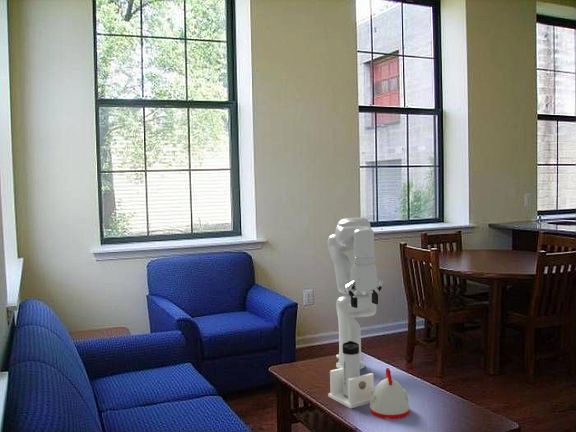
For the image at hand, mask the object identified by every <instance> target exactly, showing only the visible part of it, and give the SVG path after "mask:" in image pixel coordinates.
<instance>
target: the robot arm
mask: <svg viewBox="0 0 576 432" xmlns="http://www.w3.org/2000/svg"><path fill="white" fill-rule="evenodd" d="M371 227H372V226H371V222H370V221H369V219H368V218H367V217H345V218H342V219H340V220H339V221H338V223H337V224H336V227H335V232H334V234H331V235H329V236H328V238H327V249H328V253H329V256H330V258H331V260H332V262H333V265H334V271H335V280H336V286H337V290H338V292H339V293H341V294H346V295H342V296H339V297H338V298H337V299H336V300H335V301H336V302H335V306H336V307H335V308H336V313H337V314H336V315H337V320H338V345H339V346H338V348H339V349H338V351H339V352H338V354H336V356H335V357H336V358H337V359H338V362H336V364H335V367H336V369H339V368H343V353H342V352H343V347H342V345H343V344H344V343H346V342H348V341H353V342H356V343H358V344H359V361H360V371H361V370H363V369H364V368H365V367H366V364H365V362H364V361H362V341H361V340H362V337H361V334H362V331H361V325H360V324H359V322H358V321H357V320H356V319H355V318H362V317H363V318H364V317H365V318H366V317H372V316H374V315H376V314H377V305H378V304H379V294H380V291H382V287H383V284H384V281H383V280H382V279H379V278H378V271H377V266H376V263H375V261H376V260H377V258H376V256H375V242H374V241H375V240H374V239H375V233H374V230H373V228H371ZM345 252H353V260H352V259H351V258H350V257H349V255H347V254H346V253H345Z"/></svg>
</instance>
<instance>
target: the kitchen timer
mask: <svg viewBox="0 0 576 432" xmlns="http://www.w3.org/2000/svg"><path fill="white" fill-rule="evenodd" d="M391 372H392V371H391V369H390V367H386V369H385V378H384V379H382V380H381V381H379V382H378V383H377V385H376V386H374V387H375V388H374V391H371V397H370V403H369V413H370V414H371V415H372V416H374V417H377V418H379V419H383V420H400V419H403V418H406V417H407V416H409V414H410V404H409V396H408V394H407V391H406V389H404V387H402V385H401V384H400V383H399V382H398V381H397V380H395V379H394V378H392V375H391Z"/></svg>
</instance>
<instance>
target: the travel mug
mask: <svg viewBox="0 0 576 432" xmlns="http://www.w3.org/2000/svg"><path fill="white" fill-rule="evenodd" d="M342 347H343V352H342V353H343V391H344V392H343V394H344V397H346V398H348V379H350V378H354V377H358V376H361V375H360V374H361V370H360V361H359V344H358V343H356V342H353V341H348V342H346V343H344V344H343V345H342Z"/></svg>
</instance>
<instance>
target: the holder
mask: <svg viewBox="0 0 576 432" xmlns="http://www.w3.org/2000/svg"><path fill="white" fill-rule="evenodd" d="M374 374H375V373H373V372H371V373H370V372H369V373H366V374H362V375H360V376H358V377H354V378H350V379H348V398H346V397H344V394H343V392H344V391H343V368H339V369H338V368H335V369H331V370H329V380H330V381H329V383H330V385H329V386H330V390H329V391H330V392H329V393H327V395H328V396H327V397H328V398H330V399H332V400H334V401H335V402H337V403H339V404H341V405H343V406H345V407H346V408H349V409H351V410H352V409H353V408H357V407H361V406H365V405H368V404H369V405H370V397H371V391H374V389H375V388H374V387H375V384H374V381H375V380H374V376H375V375H374Z"/></svg>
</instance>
